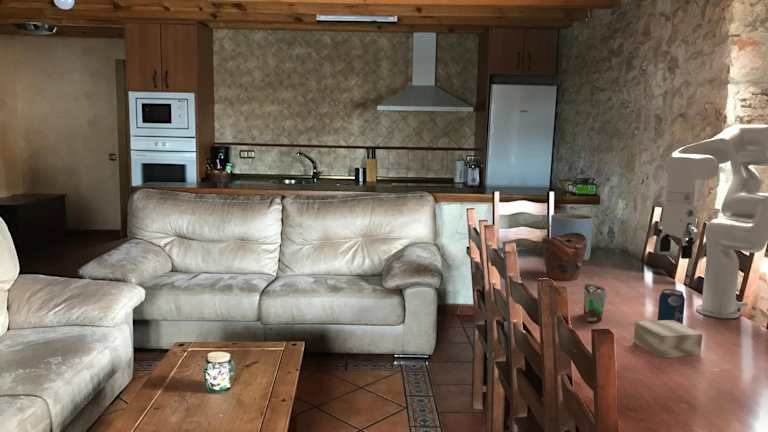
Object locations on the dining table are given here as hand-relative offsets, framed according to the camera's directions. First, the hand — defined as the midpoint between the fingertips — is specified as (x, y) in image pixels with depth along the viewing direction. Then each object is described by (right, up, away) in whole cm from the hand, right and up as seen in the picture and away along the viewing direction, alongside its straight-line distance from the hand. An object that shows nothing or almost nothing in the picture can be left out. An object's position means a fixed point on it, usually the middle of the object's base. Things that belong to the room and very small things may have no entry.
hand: (675, 255), depth 176 cm
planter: (+1, -9, +104) cm, 104 cm away
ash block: (-9, -25, -12) cm, 29 cm away
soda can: (0, -23, +3) cm, 23 cm away
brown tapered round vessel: (-13, -14, +67) cm, 70 cm away
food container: (-19, -22, +13) cm, 32 cm away
